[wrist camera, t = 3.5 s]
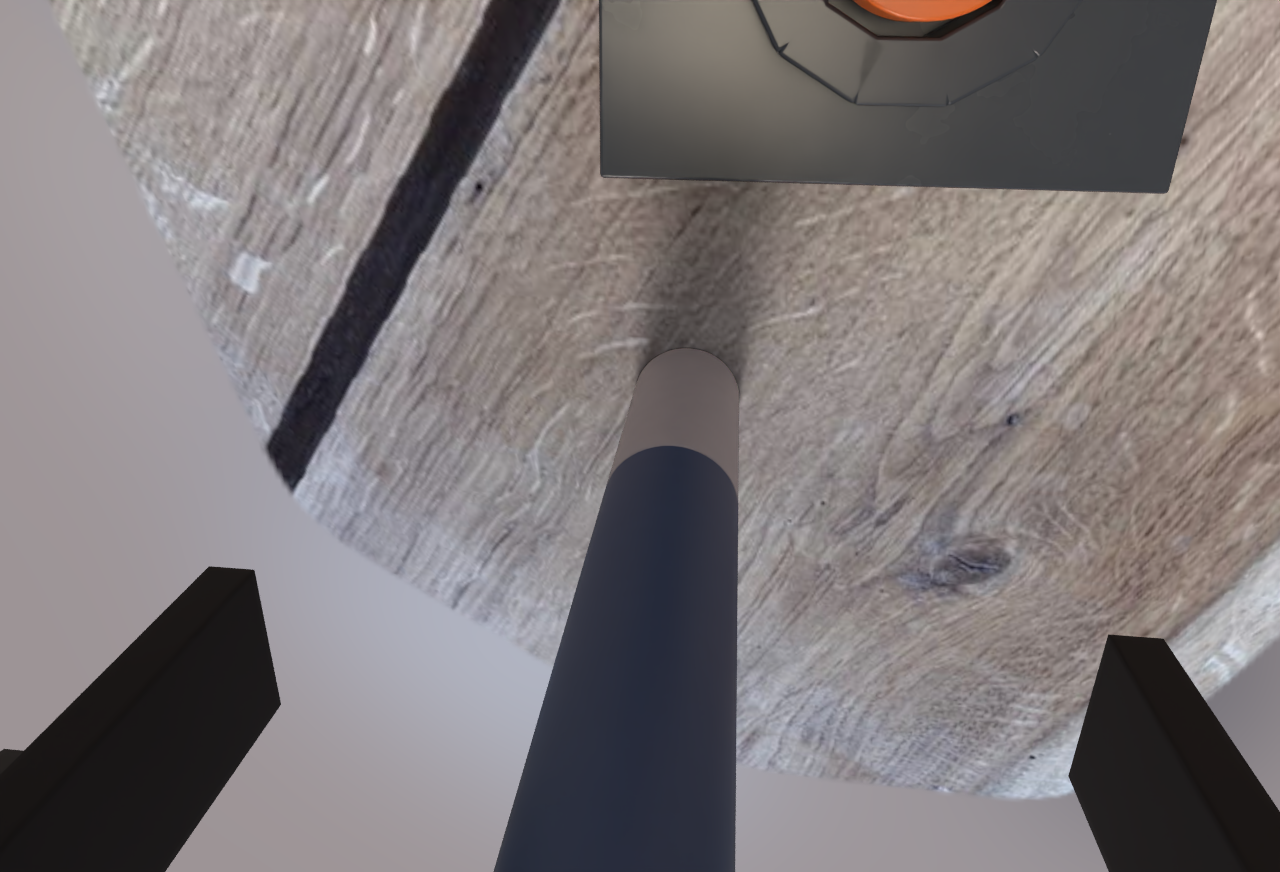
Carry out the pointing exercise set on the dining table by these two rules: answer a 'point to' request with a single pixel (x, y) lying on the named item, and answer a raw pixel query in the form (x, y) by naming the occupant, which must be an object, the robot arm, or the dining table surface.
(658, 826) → the pen
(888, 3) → the button
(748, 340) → the dining table surface
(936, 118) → the station
